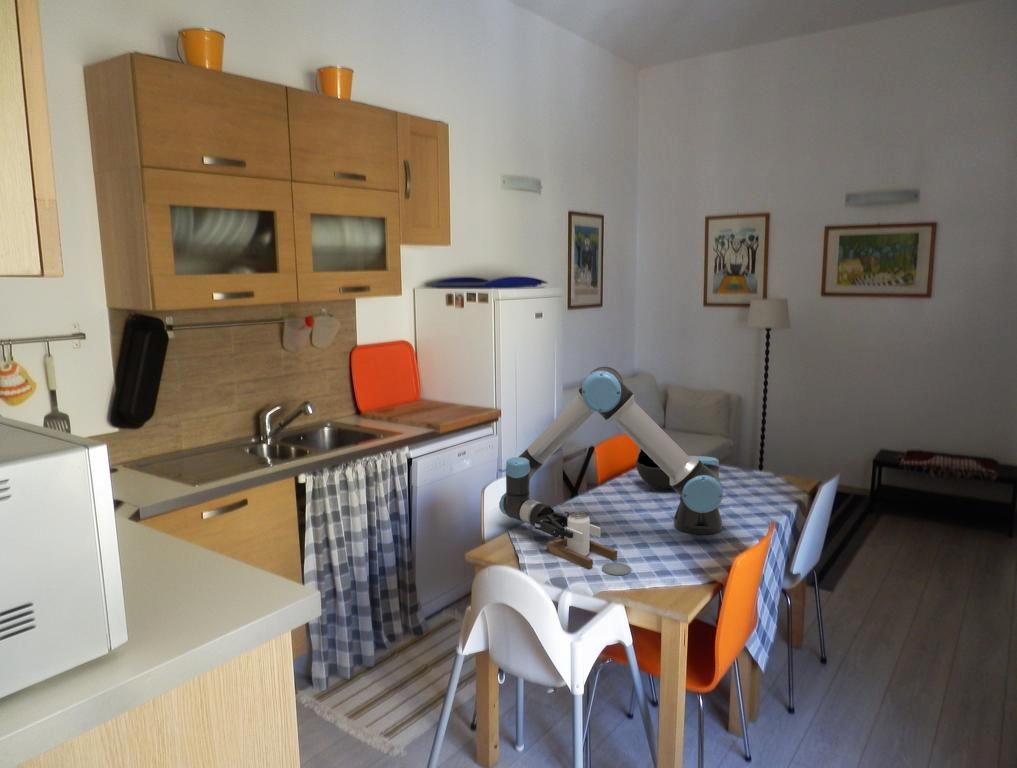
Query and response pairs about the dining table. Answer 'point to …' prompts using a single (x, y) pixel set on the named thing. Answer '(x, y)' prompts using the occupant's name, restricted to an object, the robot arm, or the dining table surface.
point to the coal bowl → (652, 472)
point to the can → (581, 524)
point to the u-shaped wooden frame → (560, 550)
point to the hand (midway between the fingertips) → (591, 535)
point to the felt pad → (616, 569)
